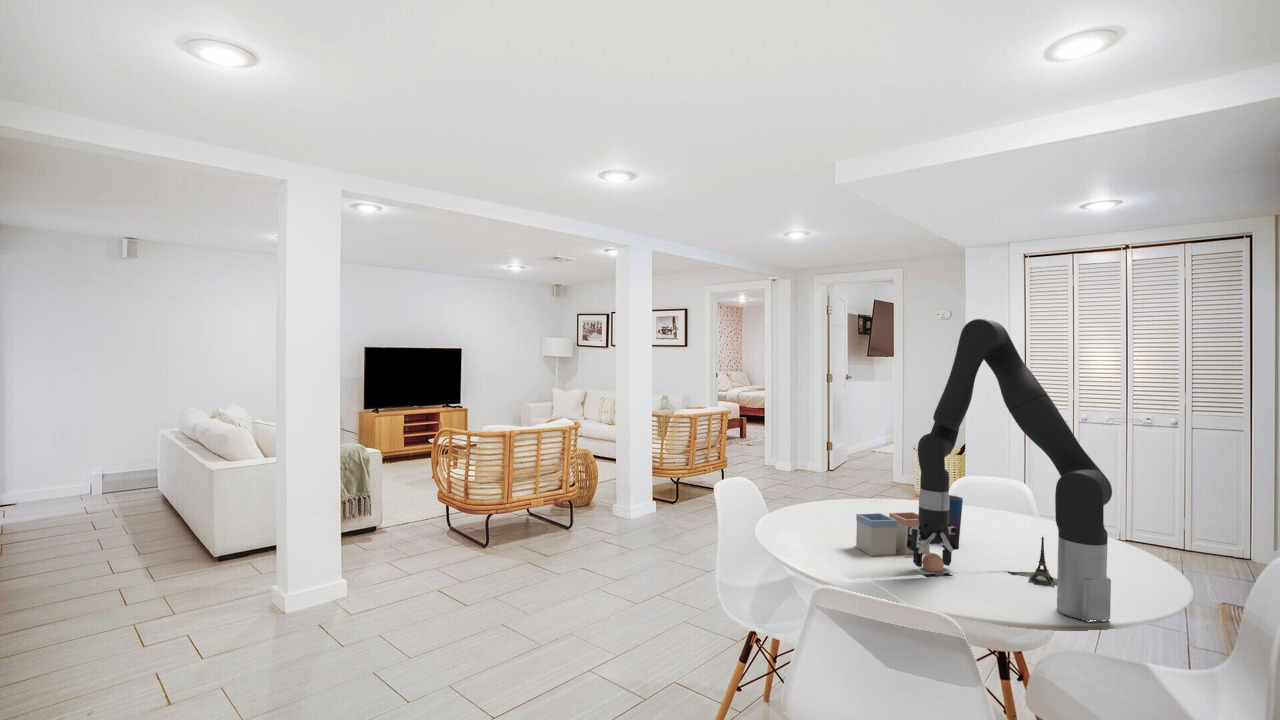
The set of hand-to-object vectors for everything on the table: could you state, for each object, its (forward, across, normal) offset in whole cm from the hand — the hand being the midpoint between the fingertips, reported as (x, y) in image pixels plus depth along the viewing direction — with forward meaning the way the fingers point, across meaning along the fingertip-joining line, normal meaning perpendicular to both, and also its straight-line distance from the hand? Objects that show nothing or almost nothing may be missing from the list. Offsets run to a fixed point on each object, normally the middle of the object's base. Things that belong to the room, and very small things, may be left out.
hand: (932, 565), depth 167 cm
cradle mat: (+2, 0, +4) cm, 4 cm away
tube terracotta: (+1, +4, +17) cm, 17 cm away
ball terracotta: (+2, 0, 0) cm, 2 cm away
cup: (+2, +23, +23) cm, 32 cm away
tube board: (+2, -1, +17) cm, 17 cm away
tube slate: (+1, -6, +17) cm, 18 cm away
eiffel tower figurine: (+3, +26, -10) cm, 28 cm away
